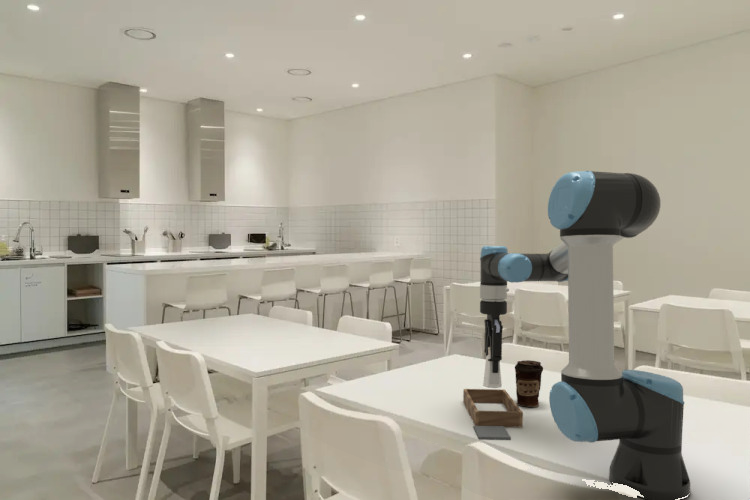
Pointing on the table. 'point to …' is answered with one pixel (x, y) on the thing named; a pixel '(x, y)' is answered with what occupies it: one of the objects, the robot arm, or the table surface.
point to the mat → (492, 432)
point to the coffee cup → (528, 382)
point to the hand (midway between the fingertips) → (492, 381)
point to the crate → (492, 417)
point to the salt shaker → (486, 374)
